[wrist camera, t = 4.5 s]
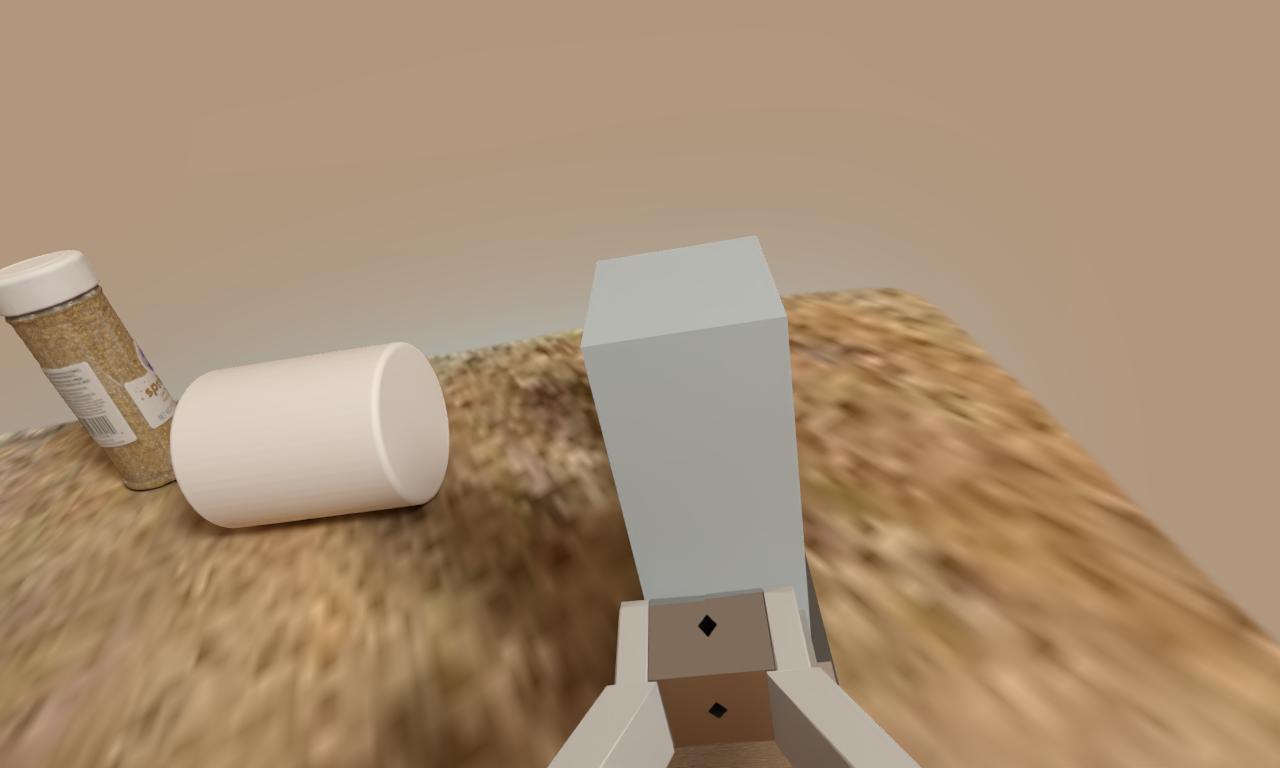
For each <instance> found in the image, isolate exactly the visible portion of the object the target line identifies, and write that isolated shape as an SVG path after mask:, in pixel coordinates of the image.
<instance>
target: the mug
mask: <svg viewBox="0 0 1280 768" xmlns="http://www.w3.org/2000/svg"><path fill="white" fill-rule="evenodd" d="M170 456H171V463H172V467H173V471H174V474H175V478H176V480H177V483H178V485H179V487H180V489H181V491H182V493H183V495H184V497H185V498H186V500H187V501H188V503H189V504H190V505H191V506H192V507H193V509H194V510H195V511H196V512H197V513H198V514H199V515H201V516H202V517H203V518H205V519H206V520H208V521H209V522H211V523H213V524H215V525H218V526H221V527H226V528H242V527H250V526H258V525H265V524H273V523H281V522H289V521H297V520H305V519H312V518H320V517H328V516H336V515H344V514H351V513H359V512H367V511H375V510H383V509H391V508H398V507H406V506H414V505H421V504H424V503H426V502H428V501H429V500H431V499H432V498H433V497H434V496H435V495H436V493H437V492H438V490H439V489H440V487H441V485H442V482H443V480H444V477H445V473H446V469H447V464H448V456H449V426H448V417H447V411H446V406H445V401H444V397H443V394H442V390H441V387H440V384H439V382H438V379H437V377H436V375H435V373H434V370H433V369H432V367H431V365H430V363H429V362H428V360H427V359H426V358H425V356H424V355H423V354H422V353H421V352H420V351H419V350H418V349H417V348H415V347H414V346H412V345H411V344H408V343H405V342H393V343H387V344H381V345H374V346H368V347H361V348H355V349H349V350H343V351H336V352H329V353H323V354H317V355H310V356H303V357H297V358H292V359H285V360H278V361H271V362H265V363H258V364H253V365H246V366H239V367H233V368H226V369H220V370H215V371H211V372H208V373H206V374H204V375H202V376H200V377H199V378H197V379H196V380H195V381H194V382H193V383H192V384H190V385H189V387H188V388H187V389H186V390H185V392H184V393H183V395H182V396H181V398H180V400H179V402H178V404H177V406H176V409H175V412H174V415H173V419H172V423H171V429H170Z"/></svg>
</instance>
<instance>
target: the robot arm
mask: <svg viewBox="0 0 1280 768" xmlns="http://www.w3.org/2000/svg"><path fill="white" fill-rule="evenodd" d="M757 741H775V744H776V745H777V746H778V748H779V749H780V750H781V752H782V753H783V754H784V756H785V757H786V758H787V760H788V761H789V762H790V764H791V765H792V766H793V768H921V767H920V766H919V765H918V764H917V763H916V762H915V761H914V760H913V759H912V758H911V757H910V756H909V755H908V754H907V753H906V752H905V751H904V750H903V749H902V748H901V747H900V746H899V745H898V744H897V743H896V742H895V741H894V740H893V739H892V738H891V737H890V736H889V735H888V734H887V733H886V732H885V731H884V730H883V729H882V728H881V727H880V726H879V725H878V724H877V723H876V722H875V721H874V720H873V719H872V718H871V717H870V716H869V715H868V714H867V713H866V712H865V711H864V710H863V709H862V708H861V707H860V706H859V705H858V704H857V703H856V702H855V701H854V700H853V699H852V698H851V697H850V696H849V695H848V694H847V693H846V692H844V691H843V690H842V689H841V688H840V687H839V686H838V685H837V684H836V683H835V682H834V681H833V680H832V679H831V678H830V677H829V676H828V675H827V674H826V673H825V672H824V671H823V670H822V669H821V668H820V667H813V668H811V665H810V661H809V656H808V652H807V647H806V642H805V638H804V633H803V629H802V624H801V619H800V615H799V610H798V606H797V601H796V596H795V592H794V589H793V587H792V586H791V585H788V586H778V587H769V588H763V590H762V588H755V589H747V590H738V591H729V592H720V593H711V594H706V595H700V596H687V597H673V598H660V599H650V600H638V601H626V602H622V603H621V606H620V609H619V621H618V637H617V653H616V669H615V685H609V686H606V687H605V688H604V690H603V691H602V692H601V694H600V695H599V696H598V698H597V699H596V701H595V702H594V703H593V705H592V706H591V708H590V709H589V710H588V712H587V713H586V714H585V716H584V717H583V719H582V720H581V721H580V723H579V724H578V726H577V727H576V728H575V730H574V731H573V732H572V734H571V735H570V737H569V738H568V739H567V741H566V742H565V743H564V745H563V746H562V748H561V749H560V750H559V752H558V753H557V755H556V756H555V757H554V759H553V760H552V761H551V763H550V764H549V766H548V767H547V768H667V766H668V764H669V762H670V760H671V758H672V756H673V754H674V748H682V747H692V746H701V745H711V744H720V743H737V742H757Z"/></svg>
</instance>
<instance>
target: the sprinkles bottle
mask: <svg viewBox="0 0 1280 768" xmlns="http://www.w3.org/2000/svg"><path fill="white" fill-rule="evenodd" d="M99 282H100V280H99V278H98V276H97V274H96V273H95V271H94V270H93V268H92V266H91V265H90V264H89V262H88V260H87V259H86V258H85V256H84V255H83V254H82V253H81V252H80V251H76V250H65V251H60V252H54V253H50V254H45V255H42V256H38V257H35V258H31V259H28V260H24V261H21V262H19V263H16V264H13V265H10V266H8V267H5V268H3V269H0V316H4V317H5V320H6V322H7V323H9V324H10V325H12V326H13V328H14V330H15V331H16V333H17V334H18V335H19V336H20V338H21V339H22V340H23V341H24V343H25V345H26V346H27V347H28V348H29V350H30V351H31V353H32V354H33V356H34V357H35V359H36V360H37V361H38V362H39V364H40V366H41V369H42V371H43V372H44V374H45V375H46V376H47V378H48V379H49V380H50V381H51V383H52V384H53V385H54V387H55V388H56V389H57V391H58V392H59V394H60V395H61V396H62V398H63V399H64V400H65V402H66V403H67V404H68V406H69V407H70V408H71V410H72V411H73V413H74V414H75V415H76V417H77V418H78V419H79V421H80V422H81V423H82V425H83V426H84V427H85V429H86V430H87V431H88V433H89V434H90V435H91V437H92V438H93V440H94V441H95V442H96V443H97V444H98V445H99V446H101V447H102V449H103V450H104V452H105V453H106V454H107V455H108V457H109V459H110V460H111V461H112V463H113V464H114V465H115V466H116V468H117V470H118V471H119V472H120V473H121V475H122V477H123V482H124V484H125V485H126V486H127V487H128V488H130V489H135V490H145V489H152V488H156V487H160V486H163V485H165V484H167V483H169V482H171V481H174V480H176V478H175V474H174V471H173V467H172V463H171V456H170V429H171V423H172V419H173V415H174V412H175V409H176V406H177V405H176V403H175V402H174V400H173V398H172V397H171V395H170V394H169V392H168V391H167V389H166V388H165V386H164V385H163V383H162V382H161V380H160V379H159V377H158V376H157V374H156V373H155V371H154V370H153V368H152V367H151V365H150V364H149V362H148V360H147V359H146V357H145V356H144V354H143V353H142V351H141V349H140V348H139V346H138V345H137V343H136V341H135V340H134V339H132V338H131V336H130V334H129V333H128V331H127V330H126V328H125V327H124V325H123V323H122V321H121V320H120V318H119V317H118V316H117V314H116V312H115V311H114V310H113V308H112V306H111V305H110V303H109V301H108V300H107V298H106V297H105V295H104V294H103V292H102V287H100V286H99V285H98V283H99Z"/></svg>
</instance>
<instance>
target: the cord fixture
mask: <svg viewBox="0 0 1280 768" xmlns="http://www.w3.org/2000/svg"><path fill="white" fill-rule="evenodd" d="M805 563H806V577H807V590H808V603H809V617H810V630H811V635H810V630H809V626H808V622H807V618H806V613H805V610H800V611H799V615H800V619H801V624H802V629H803V633H804V638H805V642H806V647H807V652H808V656H809V661H810V665H811V668H813V667H820V668H821V669H822V670H823V671H824V672H825V673H826V674H827V675H828V676H829V677H830V678H831V679H832V680H833V681H834V682H835V683H836V684H837V685H838V686H839V683H838V679H837V676H836V672H835V668H834V664H833V660H832V656H831V652H830V648H829V644H828V640H827V636H826V633H825V629H824V625H823V621H822V617H821V613H820V609H819V605H818V601H817V597H816V594H815V590H814V586H813V582H812V578H811V574H810V570H809V566H808V562H807V558H806V555H805ZM667 768H793V766H792V765H791V764H790V762H789V761H788V760H787V758H786V757H785V756H784V754H783V753H782V752H781V750H780V749H779V748H778V746H777V745H776V744H775V741H757V742H737V743H720V744H711V745H701V746H692V747H682V748H674V754H673V756H672V758H671V760H670V762H669V764H668V766H667Z"/></svg>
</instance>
